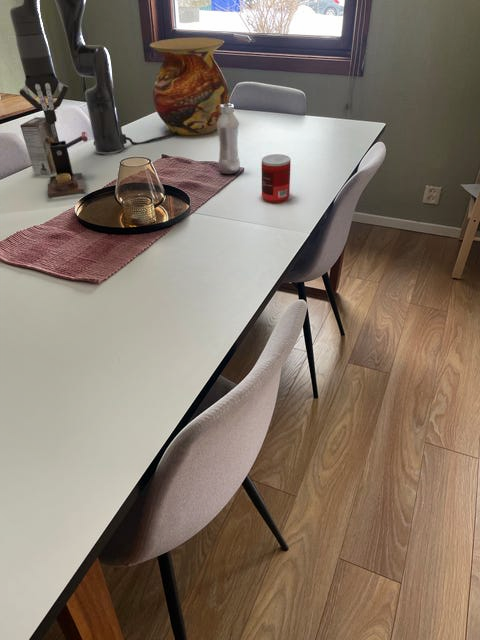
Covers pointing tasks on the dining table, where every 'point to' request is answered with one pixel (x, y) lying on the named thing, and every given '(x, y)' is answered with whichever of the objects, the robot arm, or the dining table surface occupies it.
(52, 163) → the coffee box
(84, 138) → the lever
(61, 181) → the button
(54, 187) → the switch plate
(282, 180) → the canned food
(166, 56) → the vase
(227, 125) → the plastic bottle
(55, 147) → the lever bracket
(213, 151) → the dining table surface
